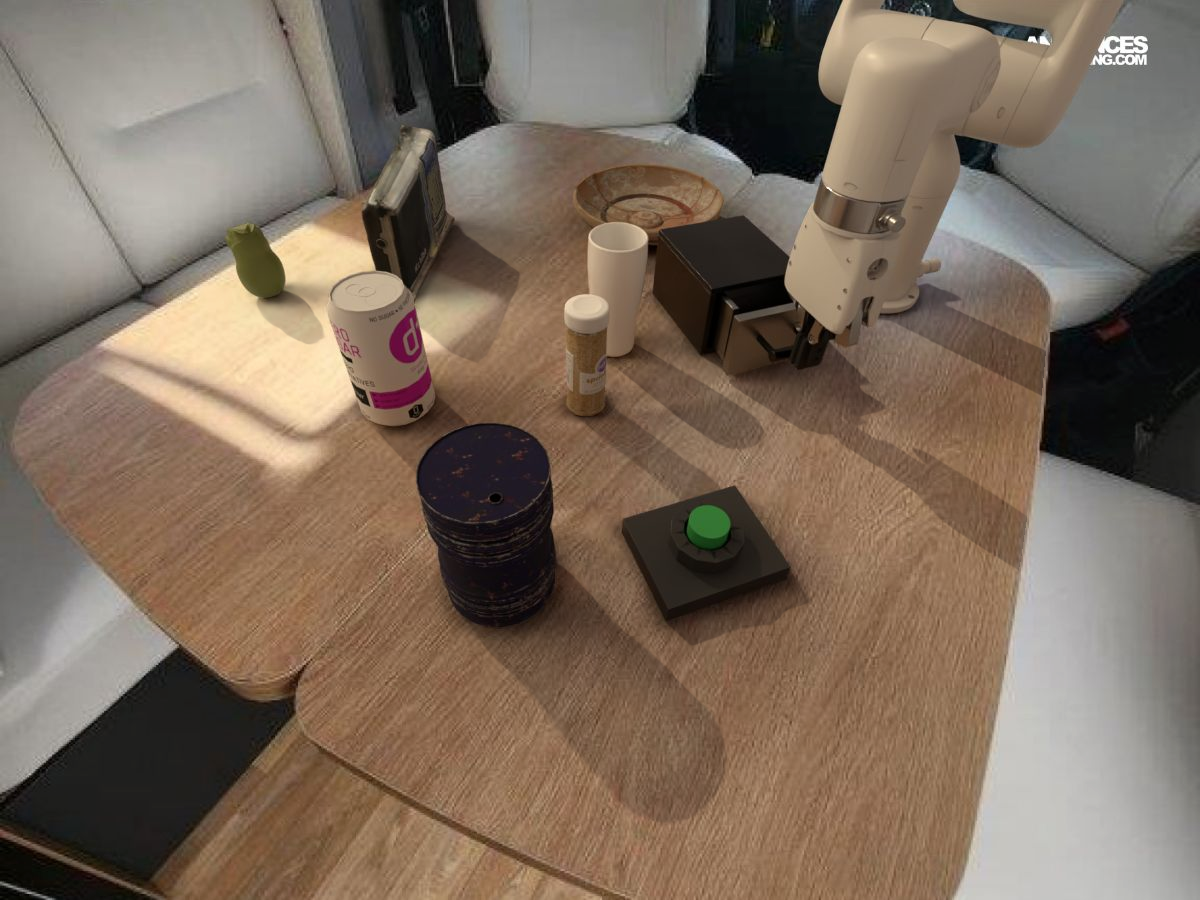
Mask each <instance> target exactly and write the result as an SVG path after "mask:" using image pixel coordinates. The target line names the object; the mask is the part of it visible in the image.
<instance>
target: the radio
mask: <svg viewBox="0 0 1200 900" xmlns="http://www.w3.org/2000/svg"><path fill="white" fill-rule="evenodd" d="M436 141H437V140H436V136H435V133H434V132H433V131H432V130H430V129H427V128H422V127H421V128H419V127H416V126H413V127H412V126H410V125H400V126H399V134H398V136H397V139H396V144H395V146H394V148H393V151H392V153H391V155H390V156H389V159H388V160H387V162H386V164H384V166H383V169H382V171H381V173H380V175H379V177H378V179H377V180H376V182H375V183H374V186H373V187H372V189H371V191H370V192H369V194H368V195H367V197H365V198H364V200H363V202H362V204H361V219H362V222H363V227H364V230H365V233H366V238H367V241H368V242H367V243H368V246H369V252H370V254H371V259H372V262H373V264H374V268H375V271H382V272H388V273H391V274H394V275H396V276H397V277H398V278H400V279H401V280H402V282H403V284H404V285H405V286H406V287H407V288H408V289H409V290H410V291H411V293H412V296H413V299H414V301H415V299H416V298H417V296H418V294H419V292H420V290H421V288H422V285H423V284H424V282H425V280H426V278H427V276H428V274H429V272H430V270H431V268H432V266H433V264H434V262H435V260H436V258H437V256H438V255H439V252H440V250H441V248H442V246H443V244H444V243H445V241H446V238H447V237H448V234H449V233H450V231H451V228H452V227H453V225H454V222H455V220H456V219H455V216H453V215H452V214H450V213H448V211H447V207H446V197H445V192H444V191H445V190H444V185H443V181H442V175H441V167H440V166H441V165H440V161H439V154H438V150H437V142H436Z"/></svg>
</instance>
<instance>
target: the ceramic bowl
mask: <svg viewBox="0 0 1200 900" xmlns="http://www.w3.org/2000/svg"><path fill="white" fill-rule="evenodd" d="M572 203H573V206H574V209H575V212H576V213H577V214H578V216H579V217H580V219H581V220H582V221H583V222H584V223H585V224H586V226H588V227H590V228H591V229H593V228H595V227H597V226H599V225H601V224H605V223H611V222H622V223H628V224H632V225H635V226H638V227H640V228H641V229H643V230H644V231H645V232H646V233H647V235H648V246H657V243H658V235H659V229H665V228H671V227H677V226H683V225H688V224H694V223H700V222H706V221H712V220H718V219H719V217H720V215H721V213H722V210H723V206H724V203H725V201H724V196H723V194H722V192H721V190H720V189H719V188H718V187H717V186H716V185H715V184H714V183H713V182H711V181H710V180H709V179H707V178H705V177H704V176H702V175H699V174H697V173H694V172H692V171H690V170H687V169H686V170H685V169H683V168H678V167H673V166H668V165H667V166H666V165H662V164H661V165H660V164H650V163H649V164H644V163H643V164H641V163H638V164H637V163H636V164H623V165H617V166H611V167H607V168H604V169H601V170H598V171H595V172H592V173H590V174H588V175H587V176H585V177H584V178H583V179H582V180H580V181H579V182H578V183H577V184H576V186H575V188H574V190H573V193H572Z"/></svg>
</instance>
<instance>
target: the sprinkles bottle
mask: <svg viewBox="0 0 1200 900" xmlns="http://www.w3.org/2000/svg"><path fill="white" fill-rule="evenodd" d="M563 310H564V311H563V312H564V314H563V319H564V320H563V321H564V324H565V328H566V329H565V331H566V332H565V334H566V336H565V339H566V343H565V378H566V379H565V380H566V381H565V383H566V386H567V389H566V392H567V394H566V396H567V397H566V400H565V404H566V407H567V409H568V410H569V411H570V412H571V413H573V414H574V415H576V416H580V417H592V416H596V415H597V414H599V413H601V412H602V411H603V410H604V408H605V406H606V398H605V397H606V396H605V392H606V391H605V390H606V382H607V359H608V358H607V357H608V356H606V348H607V326H608V324H609V317H610V307H609V304H608V303H607V301H606V300H604V299H603V298H601V297H599V296H596V295H591V294H589V293H584V294H583V293H582V294H578V295H574V296H572V297H571V298H568V299H567V301H565V304H564V309H563Z"/></svg>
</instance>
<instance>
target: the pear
mask: <svg viewBox="0 0 1200 900" xmlns="http://www.w3.org/2000/svg"><path fill="white" fill-rule="evenodd" d="M225 243H226V245H227V247H229V249H230V250H231V252H232V255H233V257H234V260H235V271H236V275H237V277H238V279H239V281H240V283H241V285H242V286H243V288H244V289H245V290H246V291H247V292H249V293H250V294H251V295H253V296H254V297H258V298H260V299H261V298H263V299H266V298H272V297H275V296H277V295H279V294H280V293H281V292H283V290H284V288H285V286H286V279H287V278H286V272H285V268H284V264H283V263H282V261H281V259H280V258H279V255H277V254H276V253H275V252H274V251H273V249H272V248H271V245H270V242H269V241H268V239H267V237H266V236H265V234H264V232H263V230H262V229H261V228H260V227H258V226H256V225H255V223H253V222H252V221H251V222H249V221H248V222H245V223H243V224H239V225H236V226H232V227H229V228H227V229H226V237H225Z"/></svg>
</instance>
